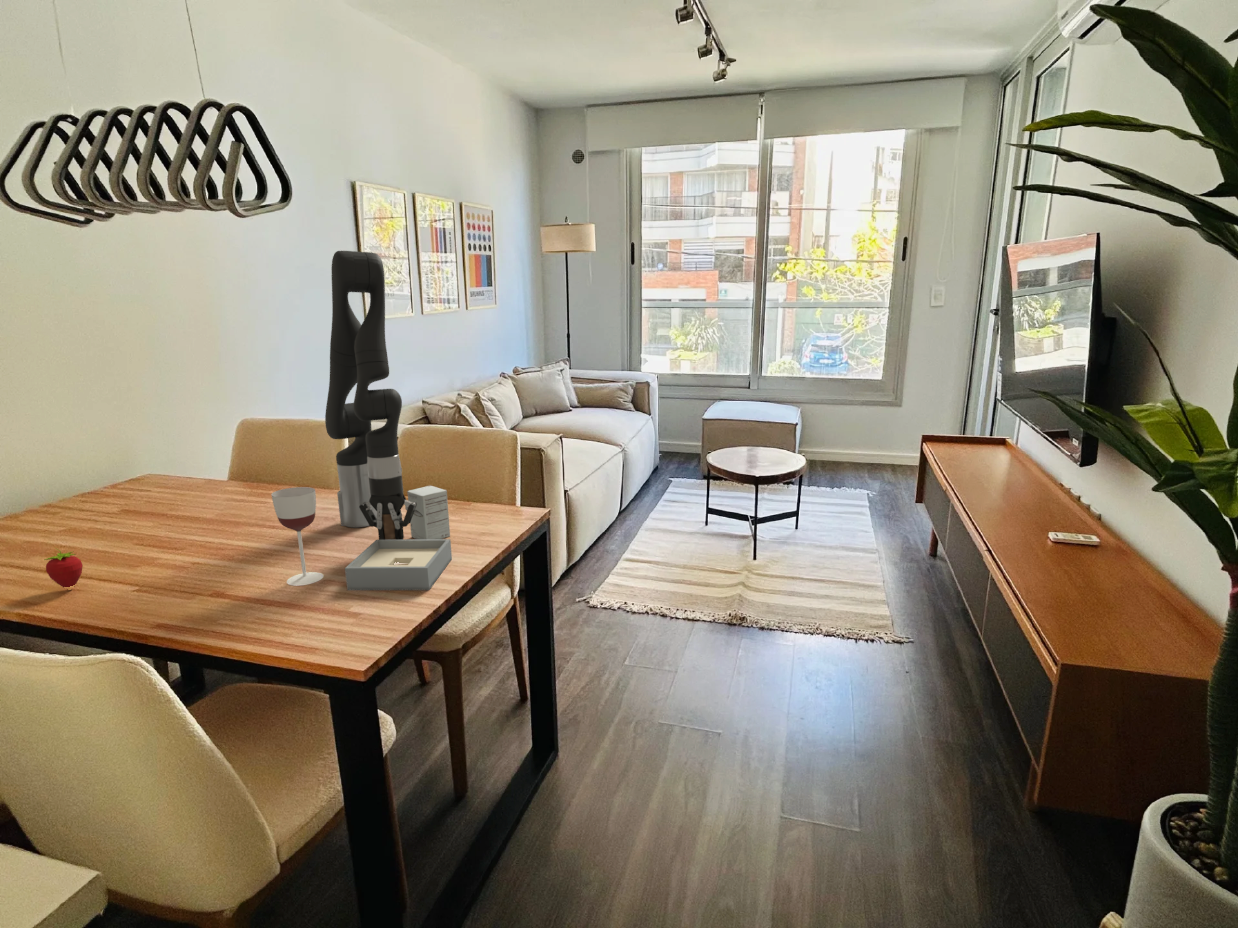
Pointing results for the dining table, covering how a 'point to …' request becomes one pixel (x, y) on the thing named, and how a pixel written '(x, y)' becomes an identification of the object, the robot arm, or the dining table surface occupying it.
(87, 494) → the dining table surface
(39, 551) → the dining table surface
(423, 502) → the supplement box
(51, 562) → the strawberry
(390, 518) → the peg
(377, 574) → the peg box
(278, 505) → the wineglass
